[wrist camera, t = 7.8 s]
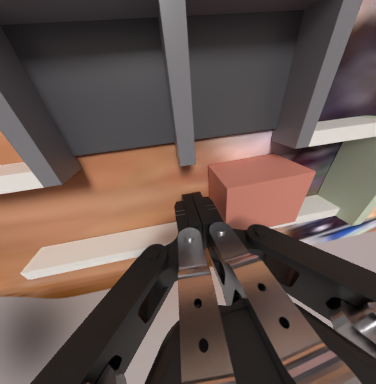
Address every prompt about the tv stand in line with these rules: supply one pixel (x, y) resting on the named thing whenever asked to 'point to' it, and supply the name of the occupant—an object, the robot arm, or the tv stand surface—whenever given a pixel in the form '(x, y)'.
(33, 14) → the box
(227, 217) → the red block
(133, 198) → the tv stand surface
